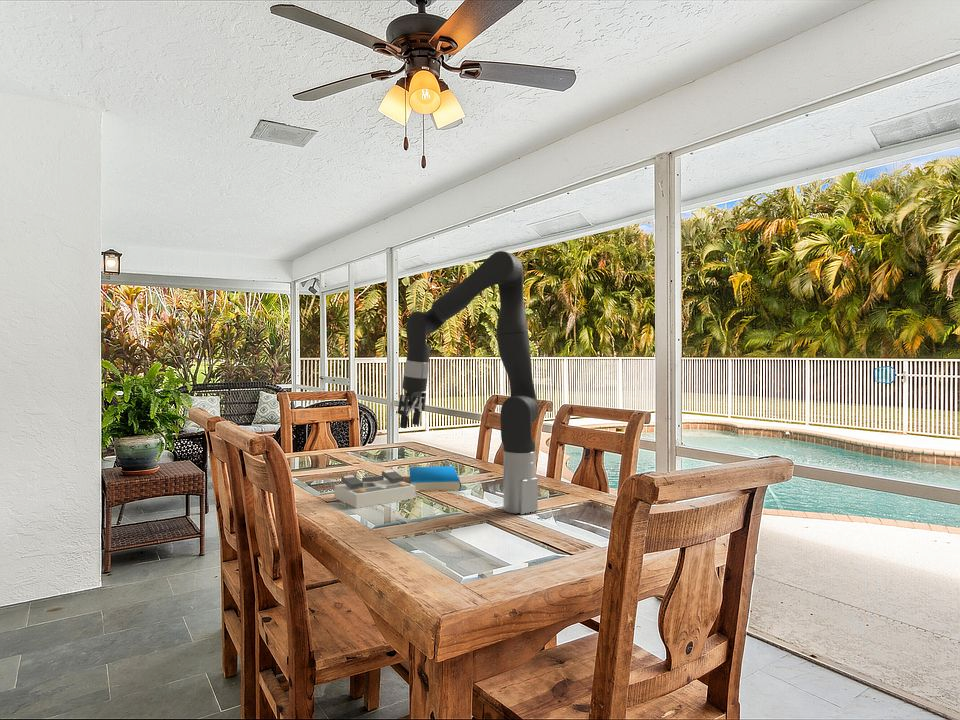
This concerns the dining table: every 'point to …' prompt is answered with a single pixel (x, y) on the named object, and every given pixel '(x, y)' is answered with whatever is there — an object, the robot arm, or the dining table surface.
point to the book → (435, 478)
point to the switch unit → (375, 493)
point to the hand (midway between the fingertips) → (409, 426)
